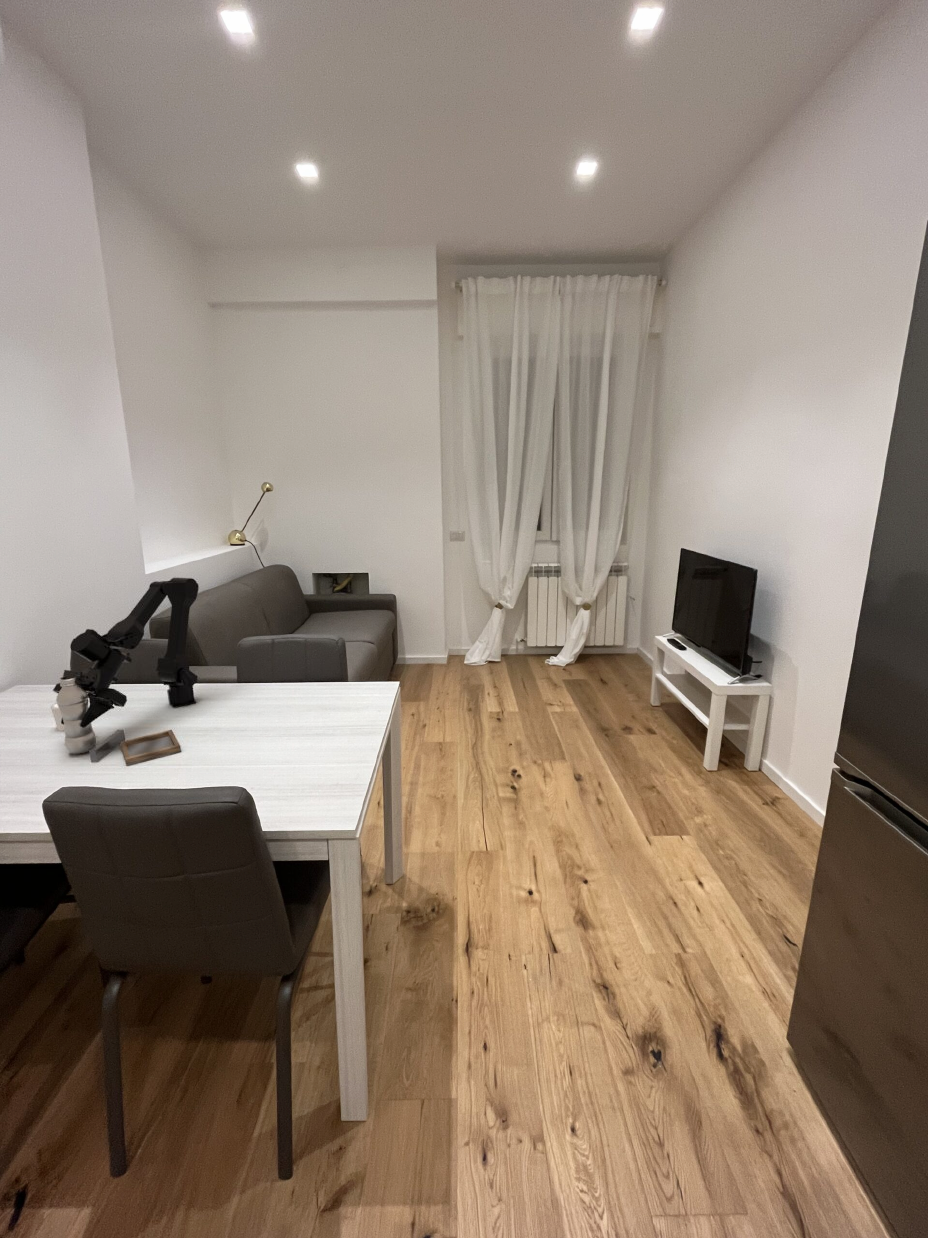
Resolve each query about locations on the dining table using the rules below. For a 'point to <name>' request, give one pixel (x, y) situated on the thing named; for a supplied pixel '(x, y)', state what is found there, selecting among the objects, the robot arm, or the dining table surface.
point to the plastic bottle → (75, 717)
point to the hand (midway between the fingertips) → (72, 725)
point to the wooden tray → (149, 747)
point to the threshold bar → (106, 746)
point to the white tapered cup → (57, 717)
